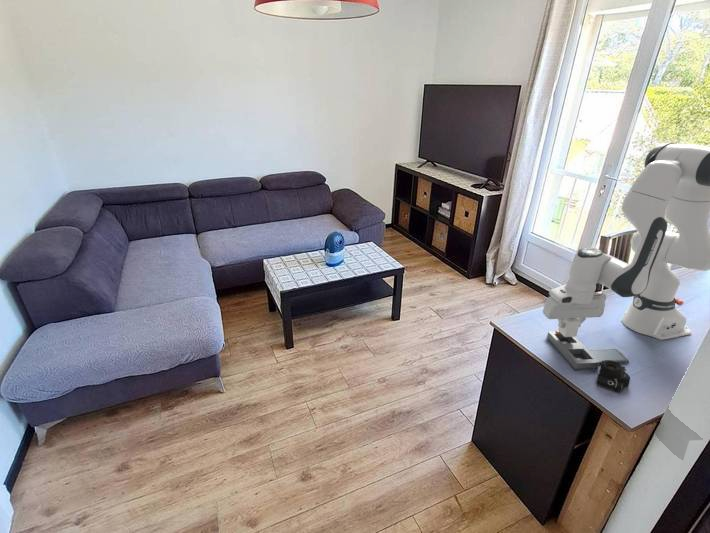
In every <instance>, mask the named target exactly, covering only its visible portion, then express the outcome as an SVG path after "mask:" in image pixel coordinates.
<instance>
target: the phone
mask: <svg viewBox="0 0 710 533" xmlns="http://www.w3.org/2000/svg"><path fill="white" fill-rule="evenodd" d="M587 350H588V351H589V352H590V353H591V354H592V355H593V356H594V357H595V358H596V359H597V360H598V361H599V362H600V364H599V366H601V364H602V360H603V361H605V360H611V361H615V362H617V363H619V364H620V365H621V364H629V362H630V359H628V358H627V357H626V356H625V355H624V354H623V353H622V352H621V351H619V350H618V349H617V348H608V349H605V348H603V349H587Z"/></svg>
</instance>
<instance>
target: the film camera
mask: <svg viewBox="0 0 710 533" xmlns="http://www.w3.org/2000/svg"><path fill="white" fill-rule="evenodd" d="M599 367H600V368H599V371H598V374H597V378H596V379H597V380H596V385H597V386H600V387H603V388H606V389H609V390H611V391H614V392H616V393H621V392H622V391H623V388H628V387H629V386H630V382H631V377H630V375H629V374H628V373H627V369H626V366H622V365H621V363H620V364H619V363H617V362H615V361H611V360H605V361H603V360H602V364H600V366H599Z"/></svg>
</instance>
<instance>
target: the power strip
mask: <svg viewBox="0 0 710 533" xmlns="http://www.w3.org/2000/svg"><path fill="white" fill-rule="evenodd" d="M546 339H547V341H548V342H549V343H550V344H551V345H552V346H553V347H554V348H555V349H556V351H557V352H558V353H559V354H560V355H561V356H562V357H563V359H564V360H565V361H566V362H567V363H568V364H569V365H570V367H571V368H572V369H573V371H589V370H598V369H599V367H600V365H601V364H600V362H599V361H598V360H597V359H596V358H595V357H594V356H593V355H592V354H591V353H590V352H589V351H588V350H589V349H588V348H586V346H585V345H584V344H583V343H582V342H581V341H580V340H579V339H578V338H577V336H576V337H564V336H563V335H562V334H561V333H560V332H559V331H558V329H557V330H554V331H553V330H552V331H551V330H550V331H548V332H547V336H546ZM599 364H600V365H599Z"/></svg>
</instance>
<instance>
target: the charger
mask: <svg viewBox="0 0 710 533" xmlns="http://www.w3.org/2000/svg"><path fill="white" fill-rule="evenodd" d="M562 321H563V320H562ZM563 322H564V323H565V324H566V325H565V328H560V327H559V326H558V329H557V330H558V331H559V332H560V333H561V334H562V335H563V336H564V337H576V338H577V335H578V331H579V328H580V327H579V325H580V321H579V320H578V318H567V319H564V321H563ZM580 326H581V325H580Z"/></svg>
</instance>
